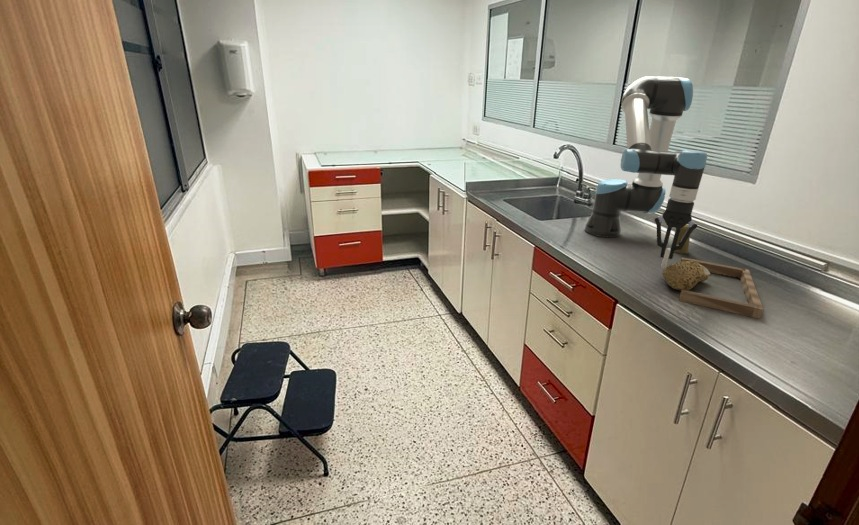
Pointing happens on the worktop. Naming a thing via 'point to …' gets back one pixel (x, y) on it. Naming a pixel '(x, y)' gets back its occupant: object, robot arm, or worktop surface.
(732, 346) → the worktop surface
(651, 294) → the worktop surface
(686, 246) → the olive waisted cylinder
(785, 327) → the worktop surface
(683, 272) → the sponge
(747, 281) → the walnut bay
